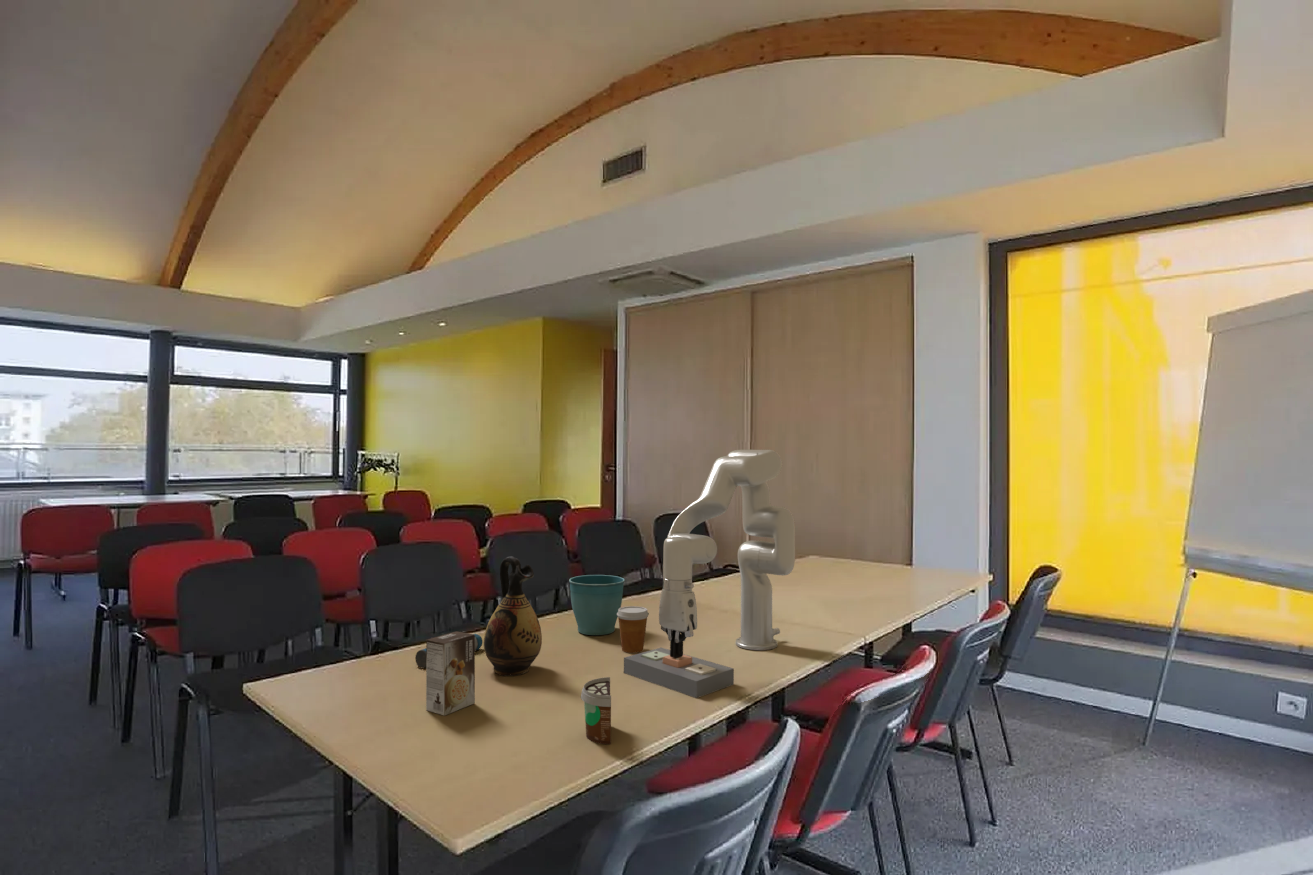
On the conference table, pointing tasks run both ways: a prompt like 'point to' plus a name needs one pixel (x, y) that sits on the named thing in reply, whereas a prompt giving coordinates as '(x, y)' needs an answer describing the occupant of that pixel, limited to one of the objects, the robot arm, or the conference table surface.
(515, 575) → the ceramic jug
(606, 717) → the food container
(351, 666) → the conference table surface
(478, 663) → the conference table surface
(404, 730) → the conference table surface
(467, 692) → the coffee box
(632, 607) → the disposable coffee cup
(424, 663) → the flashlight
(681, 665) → the button three dots
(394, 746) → the conference table surface
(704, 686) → the console
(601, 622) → the flower pot
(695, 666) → the button one dot
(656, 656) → the button two dots
